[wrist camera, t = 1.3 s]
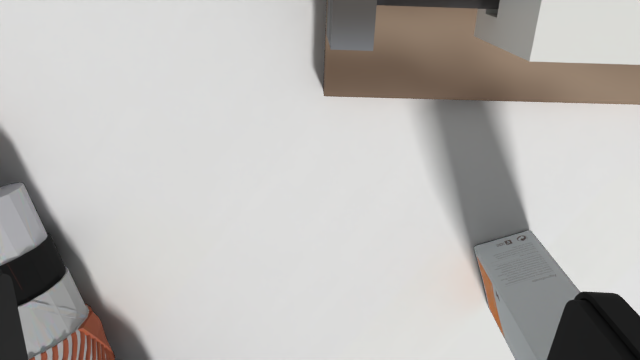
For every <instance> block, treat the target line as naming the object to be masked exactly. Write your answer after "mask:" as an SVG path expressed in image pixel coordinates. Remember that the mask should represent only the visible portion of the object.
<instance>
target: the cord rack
mask: <svg viewBox="0 0 640 360" xmlns="http://www.w3.org/2000/svg"><path fill="white" fill-rule="evenodd" d="M499 2H500V0H327V3H326V30H325V56H324V83H323V92H324V96H336V97H374V98H412V99H449V100H487V101H524V102H562V103H599V104H637V105H640V65H629V64H596V63H562V62H529V61H527V60H525V59H523V58H521V57H518V56H516V55H514V54H512V53H510V52H507V51H505V50H503V49H501V48H499V47H497V46H494V45H492V44H490V43H488V42H486V41H483V40H481V39H479V38H477V37H475V36H474V31H475V25H476V18H477V12H478V9H498V8H499Z"/></svg>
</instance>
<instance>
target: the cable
mask: <svg viewBox="0 0 640 360" xmlns="http://www.w3.org/2000/svg"><path fill="white" fill-rule="evenodd" d="M0 269H1V270H2V273H3V274H7V275H9V276H10V277H11V279H12V282H13V286H14V291H15V296H16V301H17V306H18V311H19V315H20V320H21V325H22V330H23V335H24V340H25V345H26V350H27V354H28V359H29V360H115V359H114V358H115V356H114V353H113V351H112V349H111V347H110V345H109V343H108V341H107V339H106V336H105V333H104V330H103V326H102V323H101V321H100V319H99V317H98V316H97V315H96V314H95V313H93V311H92V309H91V307H90V306H88V304H84V302H83V299H82V297H81V295H80V293H79V291H78V289H77V287H76V285H75V283H74V280H73V278H72V276H71V274H70V272H69V270H68V268H67V267H66V266H64V264H63V261H62V259H61V257H60V255H59V253H58V251H57V249H56V247H55V245H54V243H53V240H52V238H51V236H50V234H49V233H48V232H46V231H45V229H44V227H43V225H42V222H41V220H40V218H39V216H38V214H37V212H36V210H35V207H34V205H33V203H32V201H31V199H30V197H29V195H28V192H27V190H26V188H25V186H24V184H23V183H13V184H9V185H5V186H2V187H0Z"/></svg>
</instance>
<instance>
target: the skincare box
mask: <svg viewBox="0 0 640 360" xmlns="http://www.w3.org/2000/svg"><path fill="white" fill-rule="evenodd" d="M474 250H475V253H476V257H477V260H478V264H479V268H480V272H481V275H482V279H483V284H484V288H485V293H486V298H487V302H488V307H489V309H490V311H491V313H492V315H493V317H494V319H495V321H496V323H497V325H498V327H499V329H500V331H501V333H502V335H503V337H504V339H505V340H506V343H507V344H508V346H509V348H510V350H511V352H512V354H513V356H514V358H515V360H547V357H548V354H549V351H550V348H551V345H552V342H553V339H554V337H555V334H556V331H557V328H558V325H559V322H560V319H561V316H562V313H563V310H564V307H565V305H566V303H567V302H568V301H569V300H574V298H575V296H576V295H577V294H579V293H581V292H580V291H579V290H578V289H577V287H576V286H575V285H574V284H573V282H572V281H571V280H570V279H569V277H568V276H567V275H566V274H565V272H564V271H563V270H562V269H561V267H560V266H559V265H558V264H557V262H556V261H555V260H554V259H553V257H552V256H551V255H550V254H549V252H548V251H547V250H546V249H545V247H544V246H543V245H542V244H541V243H540V241H539V240H538V239H537V238H536V236H535V235H534V234H533V233H532V231H525V232H521V233H518V234H514V235H511V236H508V237H504V238H501V239H498V240H494V241H491V242H487V243H484V244H480V245H477V246H475V247H474Z"/></svg>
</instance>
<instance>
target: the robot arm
mask: <svg viewBox="0 0 640 360" xmlns="http://www.w3.org/2000/svg"><path fill="white" fill-rule="evenodd" d="M0 360H29V359H28V354H27V350H26V345H25V340H24V335H23V330H22V325H21V320H20V315H19V311H18V306H17V301H16V296H15V291H14V286H13V282H12V279H11V277H10V276H9V275H7V274H3V273H2V270H1V269H0ZM547 360H640V316H639V315H638V314H637V313H636V312H635V311H634V310H633V309H632V308H631V307H630V305H629V304H628V303H627V302H626V301H625V300H624V299H623V298H622V297H621V296H619V295H618V294H614V293H600V292H581V293H579V294H577V295H576V296H575V298H574V300H569V301H568V302H567V303H566V305H565V307H564V310H563V313H562V316H561V319H560V322H559V325H558V328H557V331H556V334H555V337H554V339H553V342H552V345H551V348H550V351H549V354H548V357H547Z"/></svg>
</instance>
